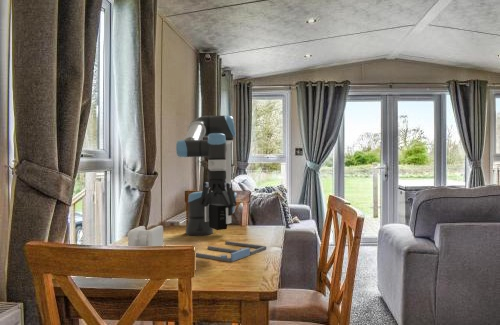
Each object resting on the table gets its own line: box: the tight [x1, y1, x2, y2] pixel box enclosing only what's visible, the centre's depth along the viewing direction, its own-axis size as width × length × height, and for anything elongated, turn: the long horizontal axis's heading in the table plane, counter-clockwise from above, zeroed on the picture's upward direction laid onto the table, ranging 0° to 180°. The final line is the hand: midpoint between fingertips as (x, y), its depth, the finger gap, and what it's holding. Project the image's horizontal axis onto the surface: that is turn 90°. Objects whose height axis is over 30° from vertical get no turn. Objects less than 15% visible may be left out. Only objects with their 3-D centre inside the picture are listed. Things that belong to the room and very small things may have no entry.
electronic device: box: [209, 204, 228, 231], centre depth 163 cm, size 4×10×10 cm, turn 27°
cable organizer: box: [126, 225, 164, 247], centre depth 165 cm, size 15×11×12 cm
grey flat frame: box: [195, 240, 267, 263], centre depth 168 cm, size 27×23×3 cm
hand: (217, 222), depth 163 cm, fingers closed on electronic device, 11 cm apart
